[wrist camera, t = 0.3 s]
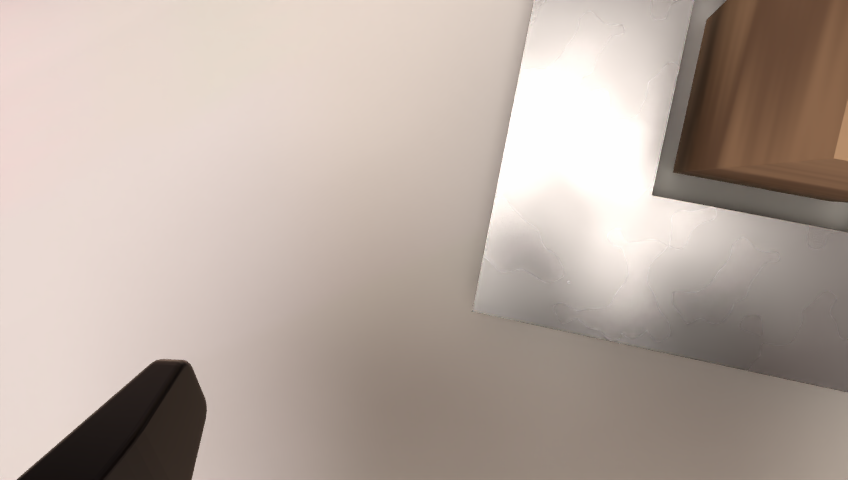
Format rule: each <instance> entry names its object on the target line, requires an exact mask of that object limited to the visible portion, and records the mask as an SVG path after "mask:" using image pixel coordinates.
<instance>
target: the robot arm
mask: <svg viewBox="0 0 848 480" xmlns="http://www.w3.org/2000/svg"><path fill="white" fill-rule="evenodd" d="M206 412H207V407H206V400H205V397H204V395H203V392H202V390H201V387H200V385H199V383H198V380H197V378H196V375H195V373H194V370H193V368H192V366H191V364H189V363H188V362H187V361H185V360H171V359H160V360H156V361H154V362H153V363H151V364H150V365H149V366H148V367H146V368H145V369H144V370H143V371H142V372H141V373H139V374H138V375H137V376H136V377H135V378H134V379H132V380H131V381H130V382H129V383H128V384H127V385H126V386H124V387H123V388H122V389H121V390H120V391H119V392H117V393H116V394H115V395H114V396H113V397H112V398H110V399H109V400H108V401H107V402H106V403H105V404H104V405H102V406H101V407H100V408H99V409H98V410H97V411H95V412H94V413H93V414H92V415H91V416H90V417H88V418H87V419H86V420H85V421H84V422H83V423H82V424H80V425H79V426H78V427H77V428H76V429H75V430H73V431H72V432H71V433H70V434H69V435H68V436H66V437H65V438H64V439H63V440H62V441H61V442H59V443H58V444H57V445H56V446H55V447H54V448H53V449H51V450H50V451H49V452H48V453H47V454H46V455H44V456H43V457H42V458H41V459H40V460H39V461H37V462H36V463H35V464H34V465H33V466H32V467H31V468H29V469H28V470H27V471H26V472H25V473H24V474H22V475H21V476H20V477H19V478H18V479H17V480H192V475H193V471H194V467H195V462H196V458H197V454H198V450H199V445H200V441H201V437H202V432H203V428H204V424H205V419H206Z"/></svg>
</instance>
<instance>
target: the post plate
mask: <svg viewBox="0 0 848 480" xmlns="http://www.w3.org/2000/svg"><path fill="white" fill-rule="evenodd" d="M693 4H694V0H534V2H533V7H532V12H531V18H530V23H529V28H528V33H527V38H526V43H525V48H524V53H523V58H522V63H521V68H520V73H519V78H518V83H517V88H516V93H515V98H514V103H513V108H512V113H511V118H510V123H509V128H508V133H507V139H506V144H505V149H504V154H503V159H502V164H501V169H500V174H499V179H498V184H497V189H496V194H495V199H494V204H493V209H492V214H491V219H490V224H489V229H488V234H487V239H486V244H485V249H484V254H483V260H482V265H481V270H480V275H479V280H478V285H477V290H476V295H475V300H474V305H473V310H472V312H477V313H481V314H486V315H491V316H495V317H500V318H505V319H509V320H514V321H519V322H523V323H528V324H532V325H537V326H542V327H546V328H551V329H556V330H560V331H565V332H570V333H574V334H579V335H584V336H588V337H593V338H598V339H602V340H607V341H612V342H616V343H621V344H626V345H630V346H635V347H640V348H644V349H649V350H654V351H658V352H663V353H668V354H672V355H677V356H682V357H686V358H691V359H696V360H700V361H705V362H710V363H714V364H719V365H724V366H728V367H733V368H738V369H742V370H747V371H752V372H756V373H761V374H765V375H770V376H775V377H779V378H784V379H789V380H793V381H798V382H803V383H807V384H812V385H817V386H821V387H826V388H831V389H835V390H840V391H845V392H848V232H844V231H838V230H833V229H828V228H822V227H817V226H812V225H807V224H801V223H796V222H791V221H785V220H780V219H775V218H769V217H764V216H759V215H753V214H748V213H743V212H738V211H732V210H727V209H722V208H716V207H711V206H706V205H700V204H695V203H690V202H685V201H679V200H674V199H669V198H663V197H658V196H653V195H652V192H653V187H654V183H655V178H656V174H657V169H658V164H659V160H660V155H661V151H662V146H663V142H664V137H665V132H666V128H667V123H668V119H669V114H670V110H671V105H672V100H673V96H674V91H675V87H676V82H677V77H678V73H679V68H680V64H681V59H682V55H683V50H684V45H685V41H686V36H687V32H688V27H689V23H690V18H691V13H692V9H693Z"/></svg>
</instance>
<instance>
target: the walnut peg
mask: <svg viewBox="0 0 848 480" xmlns="http://www.w3.org/2000/svg"><path fill="white" fill-rule="evenodd" d="M673 172H674V173H680V174H685V175H690V176H696V177H701V178H707V179H712V180H718V181H723V182H728V183H734V184H739V185H745V186H750V187H756V188H761V189H767V190H772V191H777V192H783V193H788V194H794V195H799V196H805V197H810V198H815V199H821V200H826V201H834V202H848V0H727V1H726V2H725V3H724V4H723V5H722V6H721V7H720V8H719V9H718V10H716V11H715V12H714V13H713V14H712V15H711V16H710V17H709V18H708V19H707V21H706V25H705V30H704V35H703V39H702V44H701V48H700V53H699V57H698V62H697V66H696V71H695V75H694V80H693V84H692V89H691V93H690V98H689V103H688V107H687V112H686V116H685V121H684V125H683V130H682V134H681V139H680V143H679V148H678V152H677V157H676V161H675V166H674V170H673Z"/></svg>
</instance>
